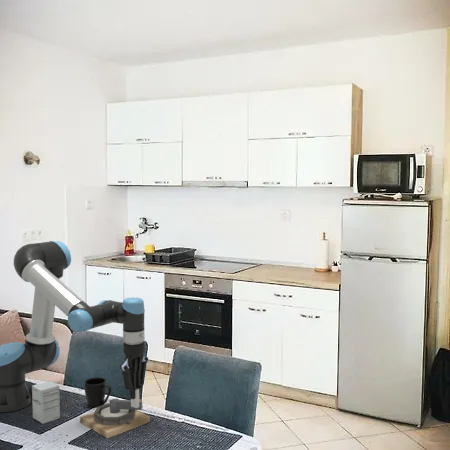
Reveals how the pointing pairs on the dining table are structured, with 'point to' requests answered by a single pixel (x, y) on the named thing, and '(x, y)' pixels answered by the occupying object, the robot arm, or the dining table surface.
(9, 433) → the dining table surface
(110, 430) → the dial board
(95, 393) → the mug
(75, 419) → the dining table surface
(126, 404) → the dial
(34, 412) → the supplement box
